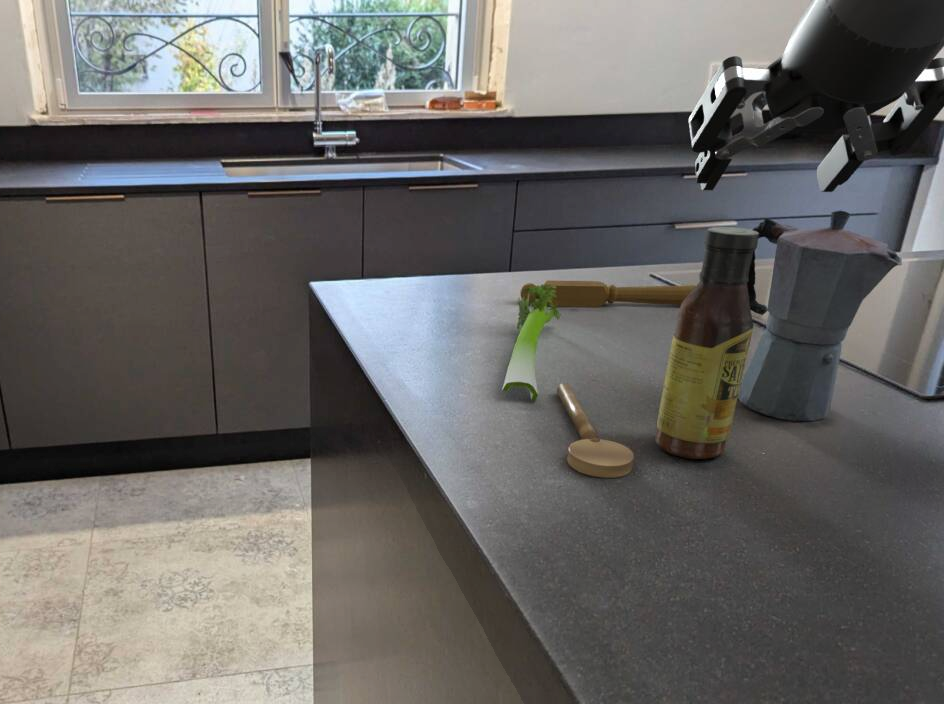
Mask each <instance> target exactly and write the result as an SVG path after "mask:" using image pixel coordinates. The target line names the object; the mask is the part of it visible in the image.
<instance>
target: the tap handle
mask: <svg viewBox="0 0 944 704" xmlns="http://www.w3.org/2000/svg"><path fill="white" fill-rule="evenodd" d="M549 284H550V285H549ZM542 285H543V287H544V286H547V287H548V286H555V287H557V288H552V289H553V290H556V292H555V295H556V296H557V297H551V298H553V300H552V301H551V302H552V303H553V305H554V306H555V307H565V308H566V307H567V308H568V307H569V308H571V307H572V308H601V307H603V306H604V305H605V304H606V303H608V304H610V305H612V304H614V303H617V302H618V303H634V304H635V303H637V304H651V305H652V304H653V305H654V304H655V305H672V306H681V304H682V302H683V301H684V300H685V298H686V297H687V295H688V294H689V293H691V292H692V291H693V289H694V288H695V287H696V286H697V285H692V284H691V285H653V286H616V285H615V284H611V285H609V286H608V285H607V284H606V283H604V282H602V281H599V280H545V282H544V284H541V285H540V286H541V287H542ZM528 287H529V288H530V287H531V288H533V287H536V288H537V285H536V284H534V283H532V282H528V283H525V284H524V285H523V286H522V287H521V289H520V293H519V295H520V299H521V300H522V299H523V297H524V300H523V301H524V302H525V299H526V300H527V297H528V293H530V292H529V291H528V293H527V292H525V289H526V288H528ZM546 290H547V289H546ZM549 290H550V291H551V288H549ZM533 291H535V290H533ZM531 293H532V292H531ZM531 293H530V295H529V303H531V302H534V301H536V300H537V299H539V297H537V299H536V297H535V295H534V294H531ZM555 295H554V296H555ZM551 296H552V295H551ZM542 298H543V297H542ZM547 307H551V304H550V302H549V303H548V302H547Z"/></svg>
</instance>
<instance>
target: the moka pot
mask: <svg viewBox="0 0 944 704" xmlns="http://www.w3.org/2000/svg"><path fill="white" fill-rule="evenodd" d="M850 217H851V213H850V212H847V211H844V210H835V211H832V212H831V215H830V222H829V223H830V224H829V226H828V227H817V228H816V227H815V228H797V227H795V226H793V225H788V224H779V223H778V222H776V221H774V220H772V219H770V218H764V220H763V221H761V222H760V223H758V224H759V225H758V226H755V227H754V228H753V229H752V230H754V231H756V232H758V233H759V237H758V240H759V239H761V238H765V239H767V240H768V242H769V243H771V244H774V245H776V248H775V253H774V261H773V266H772V274H771V281H770V286H769V287H770V288H769V293H768V295H769V296H768V301H767V305H765V304H761V303H760V302H758V301H757V300H756V299H757V293H756V289H755V285H756V250H755V251H754V252H753V255H752V260H751V264H750V269H749V274H748V279H749V281H748V282H747V288H748V295H749V303H750V310H751V312H753V313H755V314H758V315H761V316H763V315H765V314H766V313H768V316H767V319H766V323H765V327H766V328H765V330H764V331H763V333H762V335H761V336H760V339H759V341H758V344H757V346H756V348H755V351H754V353H753V355H752V356H751V358H750V361H749V364H748V366H747V368H746V370H745V372H744V374H743V376H742V380H741V384H740V388H739V393H738V398H737V400H739V401H740V402H741V403H742V404H744V406H746V408H749V409H751V410H753V411H755V412H759V413H760V414H763V415H764V416H768V417H772V418H774V419H779V420H786V421H790V422H791V421H792V422H815V421H819V420H821V419H824V418H825V417H827V415H828V414H829V411H830V409H831V405H832V400H833V396H834V390H835V384H836V379H837V373H838V368H839V363H840V360H841V353H842V346H843V344H842V342H843V341H844V340H845V338H846V337H847V334H848V331H849V328H850V327H851V325H852V323H853V322H854V319H855V317H856V315H857V314H858V311H859V309H860V306H861V305H862V303H863V301H865V299H866V298H867V297H868V296H869V295H870V294H871V293H872V292H873V290H874V289H875V288H876V287H877V286H878V285H879V284H880V283H881V282H882V281H883V279H885V277H886V276H887V275H888V274H889V273H890V272H891V271H892V270H893V269H894V268H895V267H897V266H902V265H903V258H902V257H900V256H899V255H898V254H897V252H895V251H894V250H892V249H890V248H889V247H888V243H886V242H883V241H880V240H877V239H875V238H871V237H869V236H867V235H866V236H865V235H863V234H860V233H856V232H854V231H850V230H847V229H844V228H845V227H846V224H847V223H848V221H849V219H850Z"/></svg>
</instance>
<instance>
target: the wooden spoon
mask: <svg viewBox="0 0 944 704" xmlns="http://www.w3.org/2000/svg"><path fill="white" fill-rule="evenodd" d="M556 392H557V395H558V396H559V398H560V400H561V402H562V404H563V406H564V409H565V410H566V412H567V414H568V416H569V417H570V419H571V421H572V423H573V426H574V427H575V429H576V431H577V432H578V434H579V437H580V438H581V439H578V440H576V441H573V442H572V443H571V444H570V445H569V446H568V450H567V458H566V460H567V464H568V465H569V466H570V467H571V468H572V469H573V470H574V471H576V472H579V473H581V474H583V475H586V476H591V477H595V478H605V479H612V478H620V477H624V476H627V475H628V474H630V473H631V472H632V470H633V465H634V461H635V454H634V452H633V450H631V449H630V448H628V447H627V446H626V445H624V444H621V443H619V442H616V441H612V440H607V439H601V438H600V437H599V435H598V434H597V432H596V430H595V428H594V426H593V424H592V423H591V421H590V420H589V418H588V416H587V415H586V413H585V411H584V409H583V408H582V406H581V404H580V402H579V400H578V399H577V397H576V395H575V393H574V391H573V390H572V388H571V386H570V385H569V384H568V383H566V382H562V383H560V384H558V385H557V386H556Z"/></svg>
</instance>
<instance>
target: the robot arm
mask: <svg viewBox="0 0 944 704" xmlns="http://www.w3.org/2000/svg"><path fill="white" fill-rule="evenodd" d="M943 48H944V0H810V1H809V3H808V4H807V6H806V8H805V10H804V12H802V15H801V16H800V18H799V20H798V21H797V23H796V24H795V26H794V28H793V30H792V32H791V34H790V37H789V40H788V43H787V45H786V47H785V49H784V52H783V53H782V55H780V56H779V57H778V58H777V59H776V60H775V61H773V62H772V63H771V64H769V65H768V66H767V67H766V68H754V67H753V68H751V67H750V68H749V67H744V66H743V60H742V58H741V57H740V56H737V55H734V56H729V57H727V58H725V59H724V60H723V61H722V62H721V64H720V65H719V67H718V69H717V71H716V72H715V74H713V77H712V79H711V80H710V82H709V84H708V85H707V87H706V88H705V91H704V92H703V93H702V95H701V97H700V98H699V100H698V102H697V104H696V105H695V107H694V108H693V110H692V112H691V114H690V115H689V117H688V127H689V134H690V143H691V149H692V151H693V152H694V153H697V154H698V156H697V158H696V160H695V162H694V171H695V178H696V184H699V185H700V191H714V190H715V188H716V186H717V184H718V183H719V181H720V179H721V178H722V176H723V175H724V174H725V172H726V170H727V168H728V167H729V165H730V164H731V162H732V160H733V156H735V155H737V154H738V153H740V152H742V151H744V150H746V149H747V148H749V147H751V146H755V147H758V148H759V147H764V146H765V145H766V144H768V143H770V142H772V141H774V140H775V139H777V138H779V137H781V136H783V135H800V134H806V133H813V134H815V135H816V134H817V135H830V136H831V135H833V134H834V133H835V132H837V131H841V130H843V129H846V130H847V133H848V134H842V136H841V137H840V138H839V139H838V140H837V141H836V143H835V144H834V145H833V147H832V148H831V149H830V150H829V152H828V153H827V155H825V157H824V158H823V160H822V161H821V162H820V164H819V165H818V166H817V169H816V178H817V185H818V189H819V192H821V193H833V192H834V191H835V190H836V188H838V186H841V185H843V184H845V183H846V182H847V181H849V179H851V177H852V176H853V175H854V173H855V172H856V171H857V170H858V169H859V167H861V165H862V164H863V163H864V162H865V161H869V160H872V159H874V158H875V157H876V156H877V155H878V154H879V153H880V152H884V151H885V152H886V151H888V152H889V154H890V155H892V156H897V155H902V154H905V153H906V152H908V151H909V150H910V149H911V148H912V147H913V145H914V144H916V142H917V140H918V139H919V138H920V137H921V135H922V134H923V133H924V132H925V131H926V129H927V128H928V127H929V126H930V124H931V123H932V122H933V121H934V119H936V117H937V116H938V115H939V113H940V112H941V111H942V110H943V108H944V57H937V56H938V54H939V53H940V52H941V51H942V49H943ZM894 102H896V103H895V104H894V106H893V107H892V109H891V110H890V112H889V113H888V114H887V115H886V117H885V118H884V119H883V121H882V122H878V123H872V120H871V115H872V114H874V113H876V112H878V111H879V110H881V109H884V108H885V107H888V106H889V105H890V104H892V103H894ZM766 106H767V108H768V111H769V114H770V116H771V118H772V119H771V120H769V121H767V122H766V123H764V118H763V111H764V108H765V107H766ZM741 126H743V129H742V130H741V131H740V132H738V133H736V134H734V135H733V132H732V131H735V130H736V129H737V128H740V127H741Z"/></svg>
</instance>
